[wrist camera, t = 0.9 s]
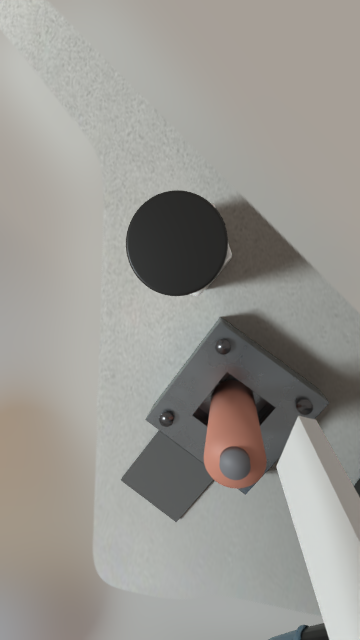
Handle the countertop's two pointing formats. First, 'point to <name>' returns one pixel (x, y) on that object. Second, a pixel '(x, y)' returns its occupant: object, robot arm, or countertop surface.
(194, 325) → the countertop surface
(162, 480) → the rubber pad
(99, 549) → the countertop surface
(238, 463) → the orange cylinder
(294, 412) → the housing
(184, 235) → the jar
